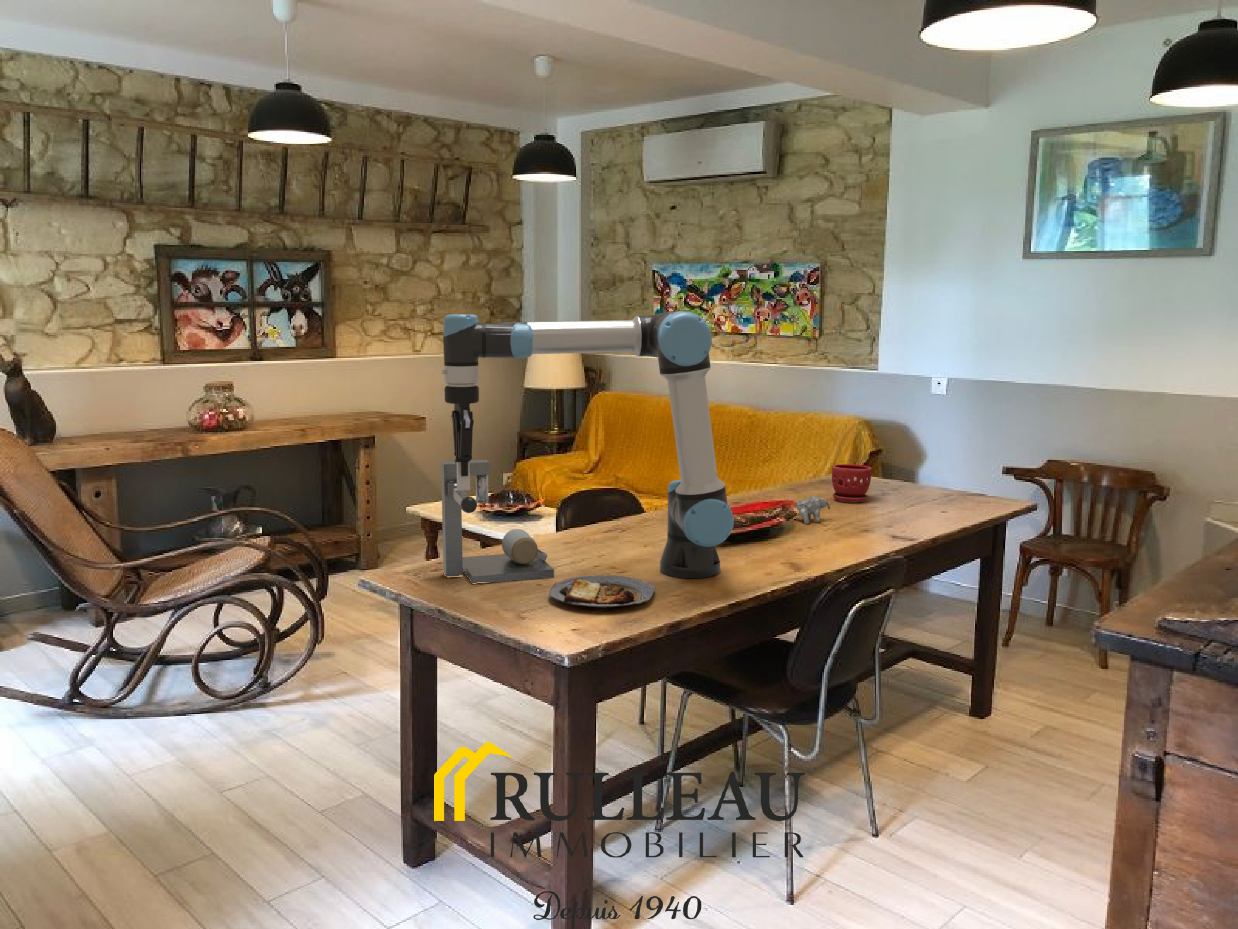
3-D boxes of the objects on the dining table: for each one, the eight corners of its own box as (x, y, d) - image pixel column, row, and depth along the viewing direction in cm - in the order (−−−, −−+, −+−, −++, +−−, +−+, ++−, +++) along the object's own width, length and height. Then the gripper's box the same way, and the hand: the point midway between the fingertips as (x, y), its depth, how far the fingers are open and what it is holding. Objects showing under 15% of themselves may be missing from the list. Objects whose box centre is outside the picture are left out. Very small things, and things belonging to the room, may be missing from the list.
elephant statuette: (787, 522, 299) (788, 498, 298) (810, 514, 307) (811, 490, 306) (812, 527, 293) (812, 503, 291) (835, 519, 301) (836, 495, 299)
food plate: (645, 617, 206) (645, 601, 206) (539, 612, 210) (539, 596, 210) (659, 587, 231) (659, 572, 230) (564, 583, 235) (564, 569, 234)
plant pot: (874, 504, 324) (876, 469, 322) (834, 504, 325) (836, 469, 323) (865, 496, 337) (866, 462, 335) (827, 496, 337) (828, 462, 336)
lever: (478, 514, 212) (478, 497, 212) (462, 516, 211) (462, 498, 210) (460, 497, 232) (460, 480, 231) (445, 497, 230) (445, 481, 230)
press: (553, 577, 236) (553, 463, 231) (451, 586, 228) (449, 469, 223) (534, 558, 253) (534, 452, 248) (438, 567, 244) (436, 457, 240)
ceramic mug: (511, 567, 237) (511, 536, 236) (501, 559, 244) (501, 529, 243) (552, 563, 241) (552, 533, 240) (540, 555, 249) (541, 526, 247)
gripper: (439, 382, 219) (441, 485, 223) (449, 387, 207) (452, 496, 210) (472, 382, 221) (474, 483, 225) (484, 386, 209) (486, 494, 213)
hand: (463, 489), depth 218 cm, fingers closed
